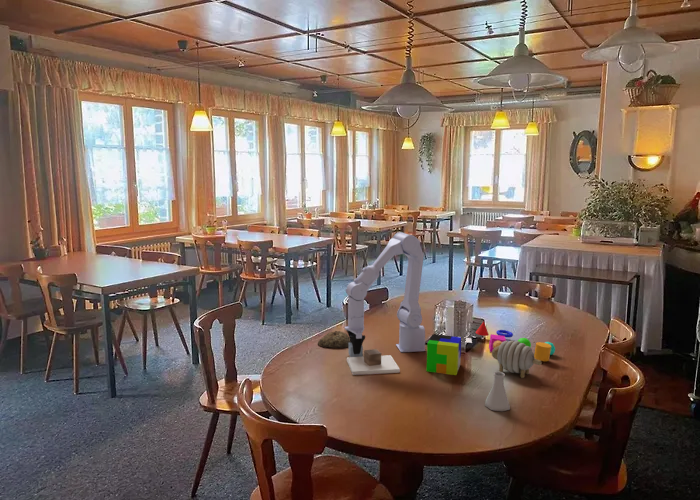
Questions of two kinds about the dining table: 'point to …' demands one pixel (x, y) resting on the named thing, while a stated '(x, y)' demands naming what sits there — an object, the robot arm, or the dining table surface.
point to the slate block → (353, 352)
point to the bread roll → (335, 340)
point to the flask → (498, 394)
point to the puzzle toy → (443, 354)
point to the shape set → (541, 348)
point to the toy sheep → (515, 357)
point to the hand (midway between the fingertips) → (355, 351)
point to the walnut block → (372, 357)
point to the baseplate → (361, 367)
